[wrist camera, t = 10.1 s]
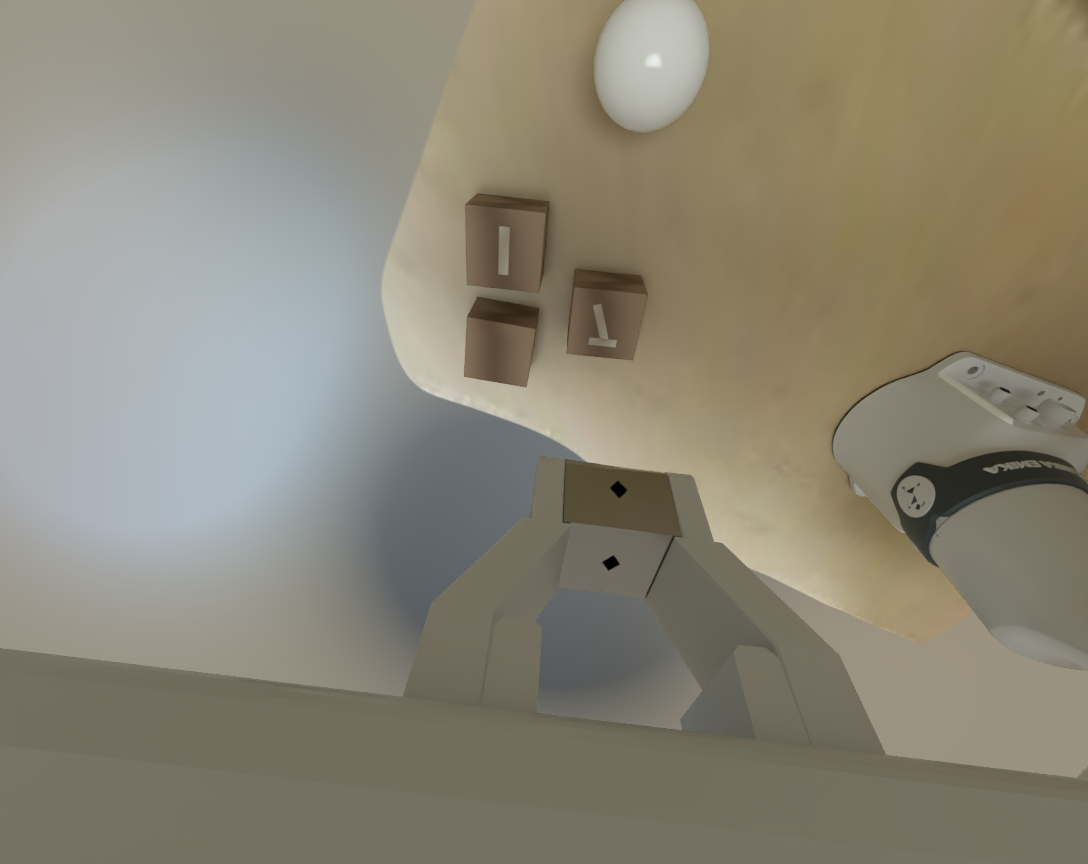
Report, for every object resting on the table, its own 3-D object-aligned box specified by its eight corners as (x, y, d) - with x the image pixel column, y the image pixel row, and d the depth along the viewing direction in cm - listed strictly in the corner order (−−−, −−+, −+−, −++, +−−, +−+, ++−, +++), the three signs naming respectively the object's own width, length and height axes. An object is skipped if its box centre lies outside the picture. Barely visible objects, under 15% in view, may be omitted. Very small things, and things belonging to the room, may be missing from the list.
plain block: (539, 307, 42) (535, 329, 38) (530, 362, 45) (526, 387, 41) (477, 296, 42) (467, 317, 38) (474, 352, 45) (463, 376, 41)
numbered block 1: (549, 201, 36) (545, 213, 32) (543, 274, 40) (539, 293, 36) (477, 193, 36) (464, 204, 32) (478, 266, 40) (466, 285, 36)
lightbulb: (573, 59, 31) (571, 41, 22) (655, -17, 28) (690, -71, 19) (618, 146, 34) (633, 162, 25) (697, 85, 31) (743, 78, 22)
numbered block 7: (640, 275, 39) (648, 295, 35) (628, 336, 43) (633, 361, 39) (575, 268, 39) (574, 287, 35) (567, 330, 43) (566, 354, 39)
